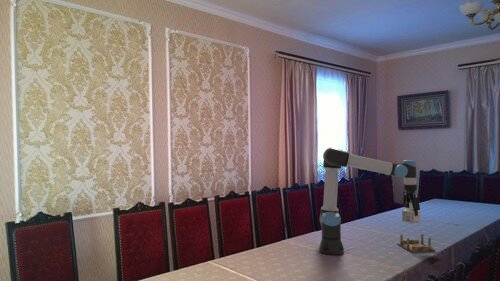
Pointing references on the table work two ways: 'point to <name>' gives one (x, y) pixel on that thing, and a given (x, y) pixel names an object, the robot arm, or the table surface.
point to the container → (409, 214)
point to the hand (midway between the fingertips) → (411, 219)
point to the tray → (415, 245)
